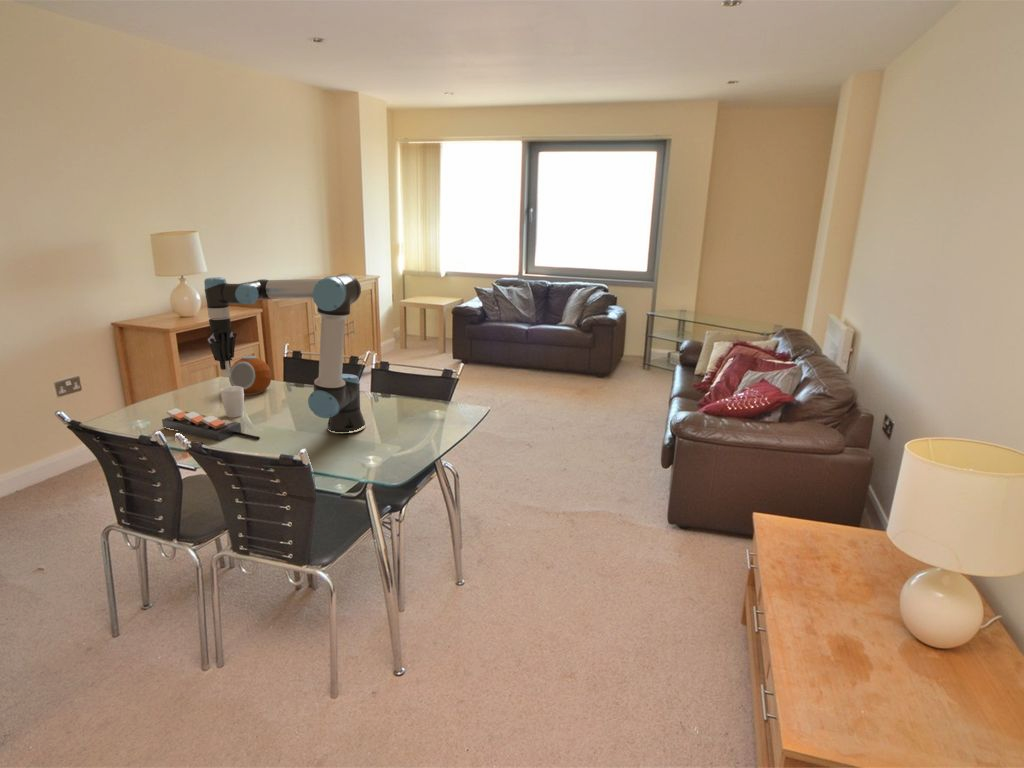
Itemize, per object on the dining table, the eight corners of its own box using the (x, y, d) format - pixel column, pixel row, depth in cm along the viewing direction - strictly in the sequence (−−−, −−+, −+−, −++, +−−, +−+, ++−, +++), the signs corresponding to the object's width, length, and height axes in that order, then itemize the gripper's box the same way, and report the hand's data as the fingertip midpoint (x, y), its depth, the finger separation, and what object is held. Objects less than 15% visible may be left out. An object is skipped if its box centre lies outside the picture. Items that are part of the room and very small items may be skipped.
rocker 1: (189, 417, 242) (189, 414, 242) (179, 420, 238) (179, 418, 237) (176, 410, 244) (176, 408, 243) (166, 413, 240) (166, 411, 239)
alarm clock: (222, 394, 287) (219, 359, 282) (244, 384, 303) (241, 351, 298) (259, 397, 284) (256, 362, 279) (279, 387, 301) (276, 353, 296)
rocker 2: (206, 421, 239) (207, 418, 238) (197, 424, 235) (197, 422, 234) (193, 414, 240) (194, 411, 240) (184, 417, 236) (184, 414, 236)
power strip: (264, 437, 237) (263, 425, 235) (243, 446, 227) (241, 434, 226) (186, 420, 252) (185, 409, 250) (163, 428, 242) (161, 416, 240)
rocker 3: (224, 425, 235) (225, 422, 235) (215, 428, 231) (215, 425, 231) (211, 417, 237) (211, 415, 237) (201, 421, 233) (202, 418, 233)
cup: (237, 419, 255) (234, 392, 251) (218, 417, 256) (215, 390, 253) (250, 412, 263) (247, 386, 260) (232, 410, 265) (229, 384, 262)
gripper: (225, 314, 239) (232, 371, 245) (198, 320, 227) (206, 379, 234) (239, 316, 236) (246, 373, 243) (213, 321, 224) (221, 381, 231)
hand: (226, 376), depth 238 cm, fingers closed
